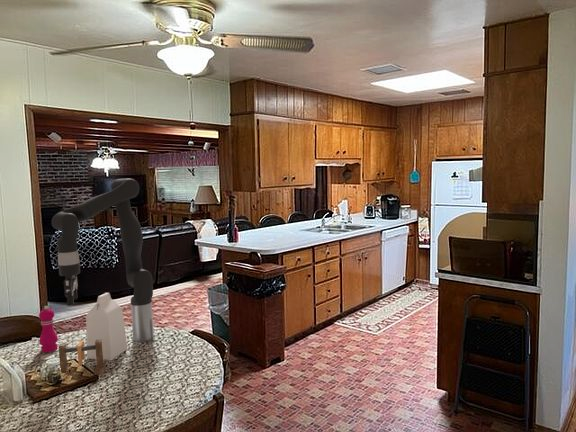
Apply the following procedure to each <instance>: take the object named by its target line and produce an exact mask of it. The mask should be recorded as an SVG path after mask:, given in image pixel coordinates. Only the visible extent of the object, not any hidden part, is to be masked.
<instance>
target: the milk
mask: <svg viewBox="0 0 576 432" xmlns="http://www.w3.org/2000/svg"><path fill="white" fill-rule="evenodd" d="M85 320H86V322H85V323H86V324H85V325H86V326H85V327H86V346H92V345H95V341H96V340H99V339H102V352H103V360H106V361H107V360H108V361H112V360H114V359H115V358H116V357H118V356H119V355H120V354H122V353H124V352H126V350H128V349H129V348H128V342H127V340H128V339H127V334H126V327H125V326H126V325H125V318H124V310H123V308H122V307H121V305H120V304H118V303H117V302H116V300H114V299H112V297H111V293H110V292H104V293H103V294H101V295H98V296H97V300H96V303H95V304H94V305H93V307H92V308H91V309H90V310H89V311H88V312H87V314H86V318H85ZM86 359H91V360H92V359H93V360H96V349H94V350H86Z"/></svg>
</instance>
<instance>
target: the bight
mask: <svg viewBox="0 0 576 432" xmlns="http://www.w3.org/2000/svg"><path fill="white" fill-rule="evenodd" d="M83 346H85V340H79V342H78V344H77V346H76V347H77V360H78V361H77V362H78V366H83V361H84V360H85V359H86V356H85V351H82V347H83Z"/></svg>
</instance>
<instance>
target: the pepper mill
mask: <svg viewBox="0 0 576 432" xmlns="http://www.w3.org/2000/svg"><path fill="white" fill-rule="evenodd" d="M54 317H55V311H54V310H53V309H51V308H49V306H48V305H44V307H43V309H42V310H41V311H40V312H39V314H38V318H39V320H41V321H40V325H41V327H42V330H41V334H40V337H39V340H38V341H39V344H40V345H41V349H40V350H41V352H42V353H50V352H54V351H56V350H58V344H57V343H58V339H59V338H58V335H57V333H56V331H55V329H54Z"/></svg>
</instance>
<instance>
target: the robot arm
mask: <svg viewBox="0 0 576 432" xmlns="http://www.w3.org/2000/svg"><path fill="white" fill-rule="evenodd" d="M139 192H140V185H139V183H138V181H137V180H135V179H134V178H118V179H115V180H114V181H112V184H111V189H110V191H107V192H105V193H102V194H99V195H96V196H93V197H91V198H88V199H86V200H84V201H82V202H80V203H79V204H77V205H75V206H73V207H70V208H66V209H65V210H62V211H59V212H57V213H56V214H55V215H53V217H52V219H51V225H52V228H54V229H55V230H57V231H61V236H60V237H59V238H57V242H56V243H57V245H56V247H57V254H58V255H57V262H58V264H57V265H58V275H59V276H60V277H65V279H64V280H63V289H64V290H63V291H64V296H65V297H66V305H67V306H73V305H74V304H75V303H74V301H75V300H77V299H78V287H79V284H78V275H80V273H81V265H80V254H79V251H78V242H77V241H78V235H79V230H80V223H79V222H83V221H88V220H90V219H91V218H93V217H95V216H97V215H98V214H100V213H101V212H103V211H105V210H107V209H109V208H112V207H113V206H115V211H116V215H117V219H118V220H117V221H118V224H119V226H118V227H119V233H120V239H121V243H122V249H123V254H124V258H125V259H124V260H125V261H124V262H125V272H126V273H125V276H126V281H127V284H128V286H130V287H132V288H133V296H131V297H130V311H131V326H132V340H133V342H136V343H143V342H144V343H145V342H149V341H151V340H152V341H153V340H154V336H155V331H154V329H155V327H154V316H153V304H152V303H153V301H152V299H153V297H154V296H153V295H154V282H153V281H154V279H153V275H152V273H151V272H150V271H149V270H148V269H144V267H143V263H142V258H141V257H142V256H141V255H142V250H143V249H142V248H143V243H144V238H143V237H144V236H143V230H142V226H141V223H140V221H139V219H138V218H137V217H136V215H135V213H134V212H133V210H132V206H131V201H130V200H132V199H134V198H136V197H137V196H138V195H139Z"/></svg>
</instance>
